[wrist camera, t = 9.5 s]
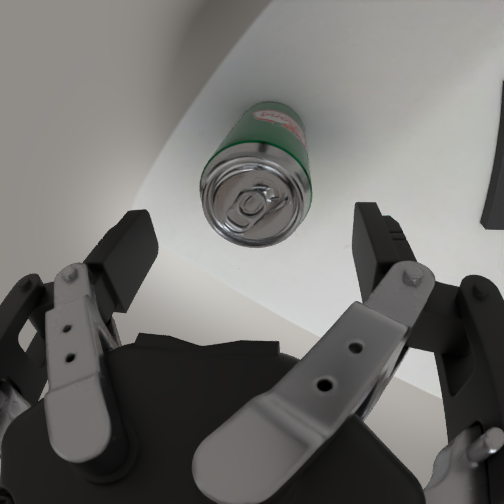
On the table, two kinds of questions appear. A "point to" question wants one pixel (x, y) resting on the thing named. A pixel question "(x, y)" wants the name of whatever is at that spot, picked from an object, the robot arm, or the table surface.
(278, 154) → the soda can
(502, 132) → the dark grey flat block
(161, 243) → the table surface
